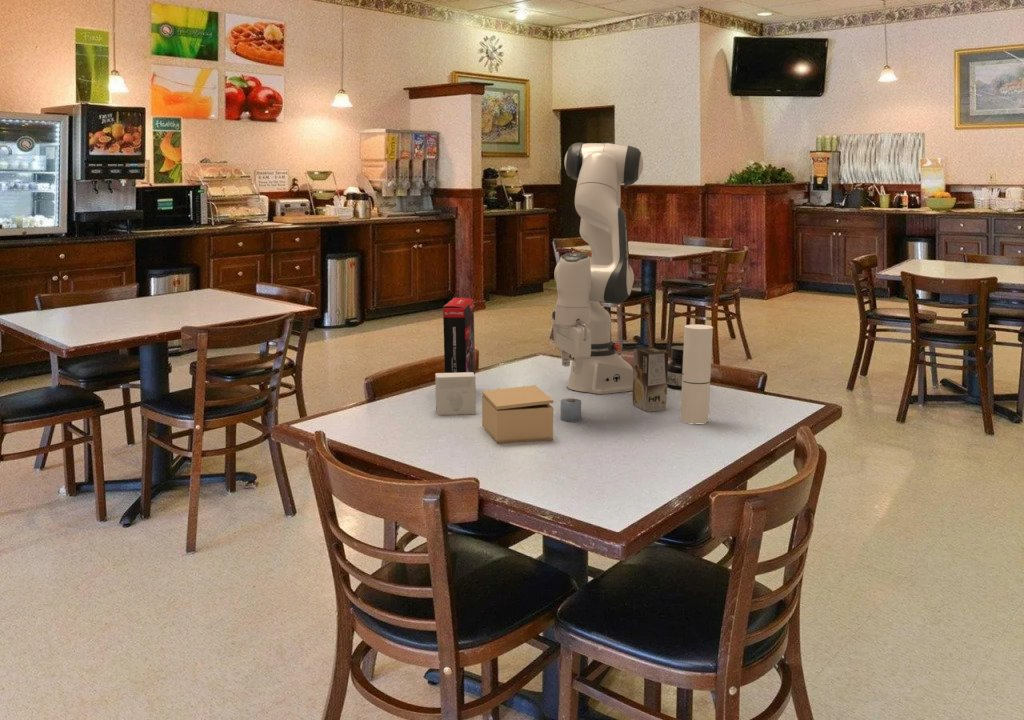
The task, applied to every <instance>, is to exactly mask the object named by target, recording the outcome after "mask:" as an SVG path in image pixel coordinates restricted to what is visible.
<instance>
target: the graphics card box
mask: <svg viewBox="0 0 1024 720" xmlns="http://www.w3.org/2000/svg"><path fill="white" fill-rule="evenodd" d="M474 303H475V302H474V299H473V298H469V297H453V298H451V300H449V301H448V302H447V303H446V304H444V305H443V306H442V314H443V315H442V316H443V317H442V318H443V319H442V321H443V355H444V357H443V360H444V362H443V363H444V373H462V372H473V373H474V375H475V376H476V355H475V354H476V353H475V352H476V351H475V350H476V349H475V345H476V343H475V313H474V312H475V311H474V310H475V308H474V307H475V305H474Z"/></svg>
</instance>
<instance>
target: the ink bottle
mask: <svg viewBox="0 0 1024 720" xmlns="http://www.w3.org/2000/svg"><path fill="white" fill-rule="evenodd" d="M683 349H684V345H673V346H671V347H670V360H671V361H669V362H668V377H667V388H669V389H674V390H682V371H683Z"/></svg>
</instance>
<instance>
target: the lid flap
mask: <svg viewBox="0 0 1024 720" xmlns="http://www.w3.org/2000/svg"><path fill="white" fill-rule="evenodd" d="M481 395H483V396H484V397H485V398H486V399H487V400H488V401H489V402H490V403H491V404H492V405H493V406H494V407H495V408H496V409H497V410H499V409H508V408H516V407H525V406H534V405H542V404H550V405H552V404H554V399H553V398H551V396H549V395H548V394H547V393H545V392H544V391H543V390H541V389H540V388H539V387H538V386H537V385H535V384H532V385H524V386H515V387H514V386H513V387H506V388H505V387H504V388H498V389H489V390H482V391H481Z"/></svg>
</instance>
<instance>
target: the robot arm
mask: <svg viewBox="0 0 1024 720" xmlns="http://www.w3.org/2000/svg"><path fill="white" fill-rule="evenodd" d="M563 161H564V162H563V163H564V169H565V173H566V175H567V176H568V177H569V178H570V179H572V180H574V181H576V182H577V183H576V186H575V187H576V188H575V195H574V207H575V211H576V213H577V215H578V216H579V217H580V223H579V224H580V225H579V235H580V237H581V238H582V240H583V241H585V242H586V243H587V244H588V245H589V248H590V251H591V256H589V255H588V254H587V253H585V252H584V253H583V252H577V251H576V252H573V251H572V252H567V253H564V254H562V255H561V256H560V258H559V261H557V263H556V266H555V268H554V272H553V273H554V275H553V276H554V281H555V284H556V291H557V300H556V304H555V309H554V310H553V311H551V319H552V321H553V325H552V326H553V328H552V330H553V342H554V345H555V346H556V347H557V348H559V349H560V357H561V365H562V366H563V367H566V368H567V367H570V374H569V377H568V381H567V383H566V384H567V385H566V387H567V388H568V389H569V390H572V391H577V392H584V393H592V394H595V395H605V394H614V393H616V394H617V393H623V392H624V393H625V392H633V366H632V365H631V364H630V363H629V362H627V361H626V360H625V359H624V358H623V357H621V355H619V354H618V353H617V352H620V351H621V350H622V348H623V346H622V344H620V343H616V342H613V341H612V340H611V336H612V335H611V333H612V332H611V331H612V329H611V328H612V318H611V315H610V312H609V311H608V310H606V309H605V308H604V307H603V306H602V304H601V303H607V304H614V305H619V304H621V303H623V302H624V301H626V300H627V299H628V298H629V297H630V296H631V293H632V288H633V285H634V281H635V275H634V270H633V268H632V267H631V265H630V256H629V255H630V253H629V236H628V235H629V234H628V233H629V231H628V224H627V221H628V220H627V218H626V213H625V211H624V209H622V208H621V203H622V201H621V200H622V199H621V196H622V195H621V193H622V191H621V185H622V184H623V187H624V190H626V189H628V186H630V185H634V184H635V183H636V182H637V181H639V178H640V177H641V175H642V172H643V170H644V169H643V168H644V160H643V156H642V152H641V150H640V149H639V148H638V147H636V146H631V145H622V144H615V143H609V142H606V143H603V142H601V143H600V142H599V143H597V142H596V143H595V142H589V143H584V142H575V143H573V144H571V145H569V147H568V149H567V151H566V153H565V156H564V160H563ZM570 356H571V359H570ZM570 363H571V364H570Z"/></svg>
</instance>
